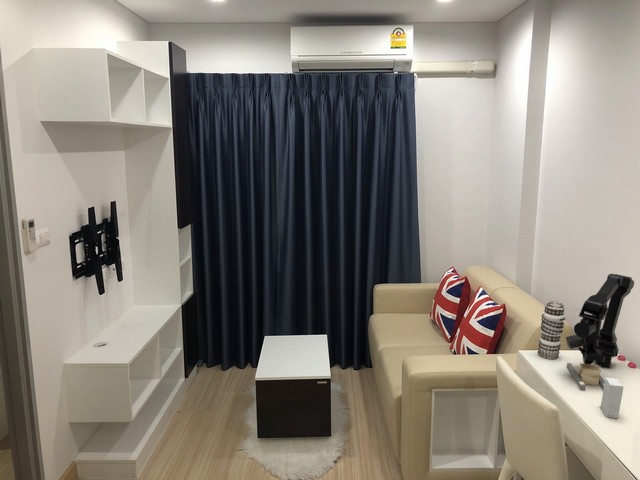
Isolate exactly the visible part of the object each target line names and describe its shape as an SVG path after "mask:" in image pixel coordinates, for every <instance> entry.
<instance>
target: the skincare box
mask: <svg viewBox="0 0 640 480" xmlns="http://www.w3.org/2000/svg"><path fill="white" fill-rule="evenodd" d="M604 381H605V383H604V389H603V390H602V395H601V401H600V410H601V412H602V413H603V415H604V417H605V418H606V417H607V418H614V419H619V415H620V409H621V403H622V398H623V392H624V385H623V384H622V382H620V380H619V379H618V378H613V377H605V379H604Z"/></svg>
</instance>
